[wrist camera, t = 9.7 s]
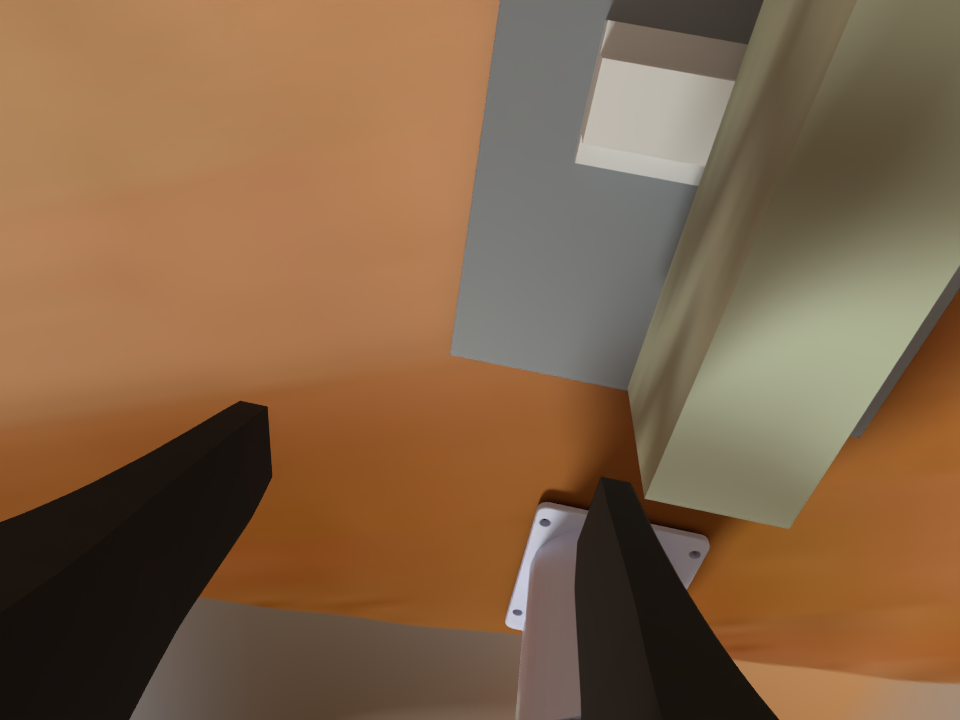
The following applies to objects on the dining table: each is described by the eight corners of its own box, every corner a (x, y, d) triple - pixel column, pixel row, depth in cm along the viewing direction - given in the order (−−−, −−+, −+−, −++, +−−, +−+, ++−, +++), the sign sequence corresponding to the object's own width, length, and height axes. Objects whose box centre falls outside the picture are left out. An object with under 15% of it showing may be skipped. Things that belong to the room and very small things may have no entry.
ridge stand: (853, 428, 22) (897, 492, 19) (452, 347, 22) (434, 396, 19) (1353, -341, 11) (1636, -474, 8) (567, -451, 12) (565, -611, 9)
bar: (737, 410, 18) (788, 529, 14) (627, 388, 18) (644, 498, 14) (1101, -327, 10) (1525, -608, 5) (888, -356, 10) (1135, -654, 5)
